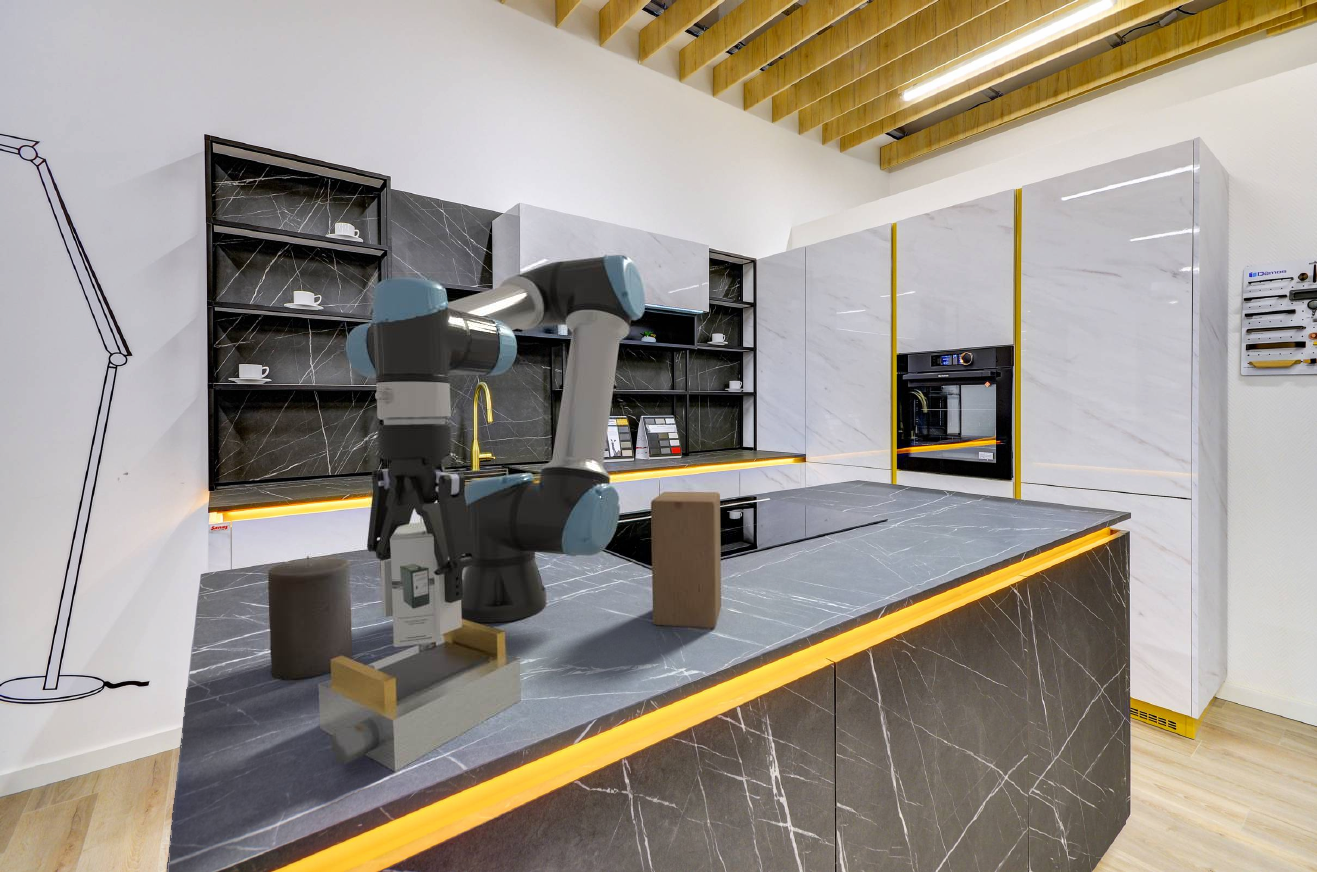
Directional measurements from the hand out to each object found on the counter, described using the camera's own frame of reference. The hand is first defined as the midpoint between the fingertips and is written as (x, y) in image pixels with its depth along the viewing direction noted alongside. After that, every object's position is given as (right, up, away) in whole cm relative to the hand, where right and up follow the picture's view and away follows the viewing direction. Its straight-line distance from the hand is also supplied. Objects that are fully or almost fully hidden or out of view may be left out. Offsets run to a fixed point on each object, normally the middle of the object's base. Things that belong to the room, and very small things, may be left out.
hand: (420, 621), depth 65 cm
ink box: (0, -1, 0) cm, 1 cm away
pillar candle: (-21, -11, +14) cm, 27 cm away
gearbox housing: (-1, -11, -1) cm, 11 cm away
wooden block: (+32, -9, +30) cm, 45 cm away
